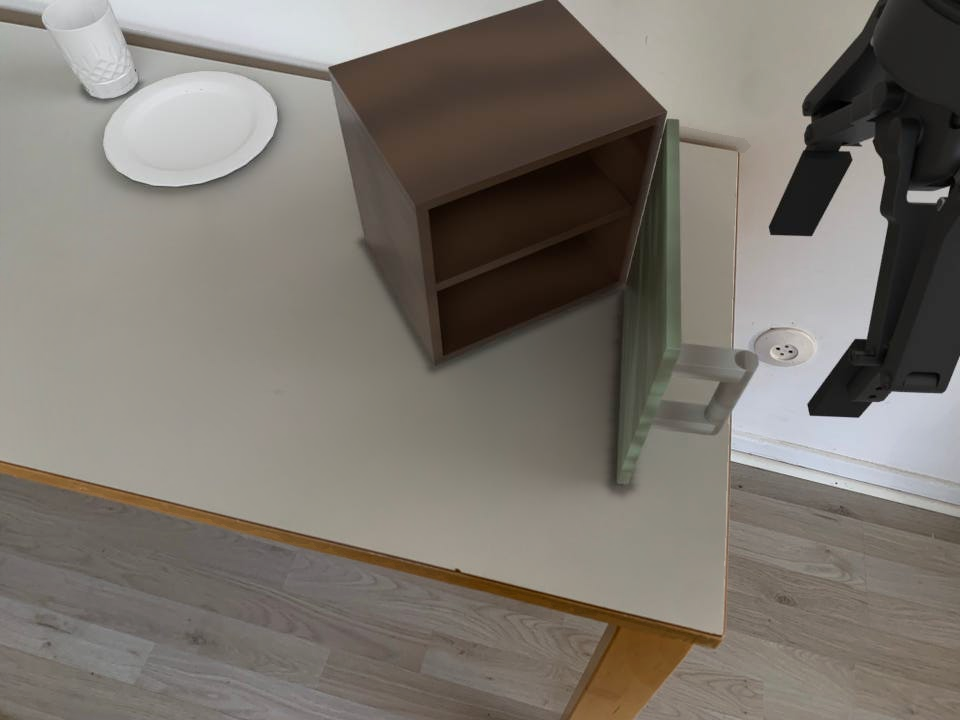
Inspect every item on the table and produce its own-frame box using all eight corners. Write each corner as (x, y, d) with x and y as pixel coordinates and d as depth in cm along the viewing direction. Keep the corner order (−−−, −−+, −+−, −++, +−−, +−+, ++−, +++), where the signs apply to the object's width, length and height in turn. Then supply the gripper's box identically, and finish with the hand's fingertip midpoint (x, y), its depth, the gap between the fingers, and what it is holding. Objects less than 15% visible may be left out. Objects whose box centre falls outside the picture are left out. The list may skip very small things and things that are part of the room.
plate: (243, 207, 83) (238, 196, 82) (76, 182, 86) (69, 171, 84) (303, 91, 94) (301, 79, 93) (154, 72, 97) (149, 60, 95)
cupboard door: (696, 295, 75) (762, 125, 57) (701, 494, 64) (786, 360, 45) (624, 288, 76) (666, 117, 58) (616, 483, 64) (665, 348, 46)
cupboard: (625, 284, 77) (668, 111, 58) (434, 366, 71) (415, 204, 53) (540, 176, 85) (554, -4, 67) (365, 242, 80) (327, 66, 62)
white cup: (89, 110, 93) (49, 38, 84) (74, 76, 96) (35, 4, 88) (150, 89, 95) (117, 17, 86) (134, 57, 98) (100, -15, 90)
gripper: (843, -179, 34) (722, 170, 52) (1036, 212, 20) (782, 503, 38) (1009, -177, 34) (830, 173, 51) (1318, 220, 20) (929, 509, 38)
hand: (809, 314), depth 45 cm, fingers open, 13 cm apart
